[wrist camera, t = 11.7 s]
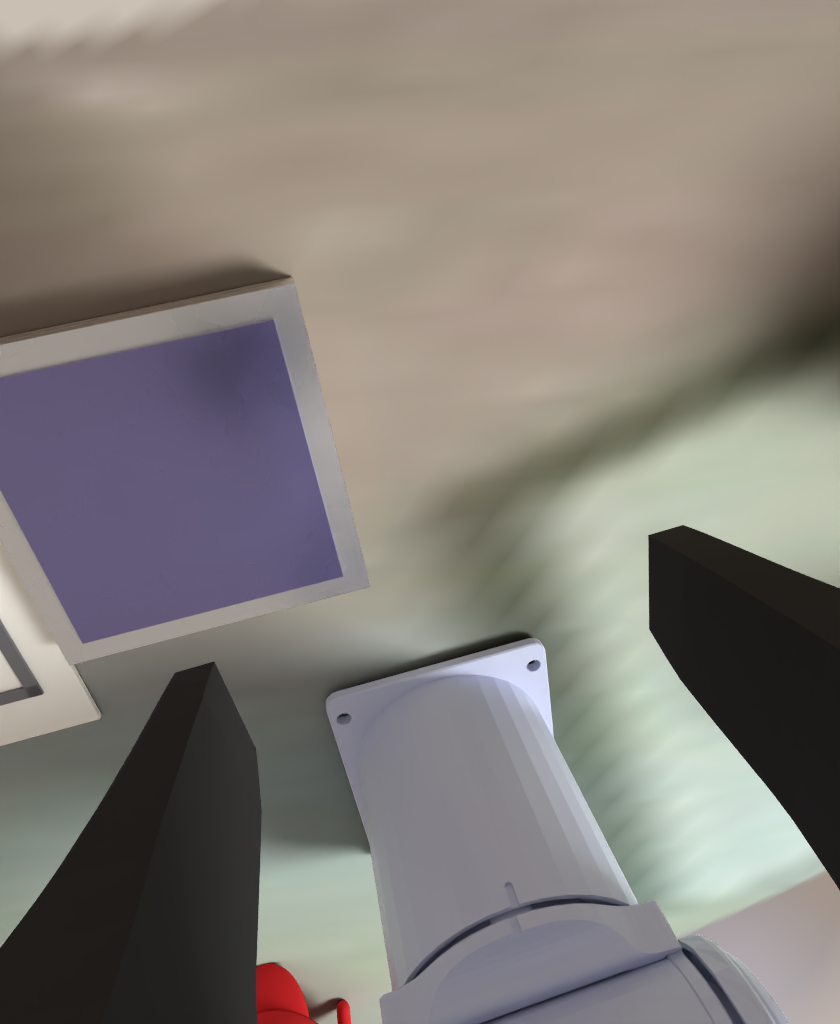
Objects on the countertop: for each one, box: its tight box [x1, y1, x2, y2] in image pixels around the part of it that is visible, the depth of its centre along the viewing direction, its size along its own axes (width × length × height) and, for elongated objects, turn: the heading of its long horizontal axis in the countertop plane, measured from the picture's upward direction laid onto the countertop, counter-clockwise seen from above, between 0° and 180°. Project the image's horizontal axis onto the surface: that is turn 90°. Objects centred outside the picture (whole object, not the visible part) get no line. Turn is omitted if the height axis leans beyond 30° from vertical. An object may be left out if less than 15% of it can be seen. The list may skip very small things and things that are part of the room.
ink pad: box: [0, 277, 370, 666], centre depth 18 cm, size 9×9×1 cm
